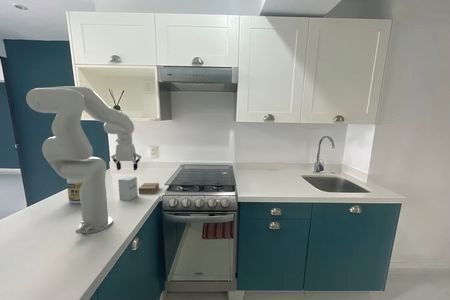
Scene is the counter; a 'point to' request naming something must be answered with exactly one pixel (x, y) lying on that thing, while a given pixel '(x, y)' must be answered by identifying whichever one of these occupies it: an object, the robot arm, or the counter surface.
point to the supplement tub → (74, 189)
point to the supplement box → (128, 188)
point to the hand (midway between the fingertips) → (127, 169)
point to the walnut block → (148, 188)
